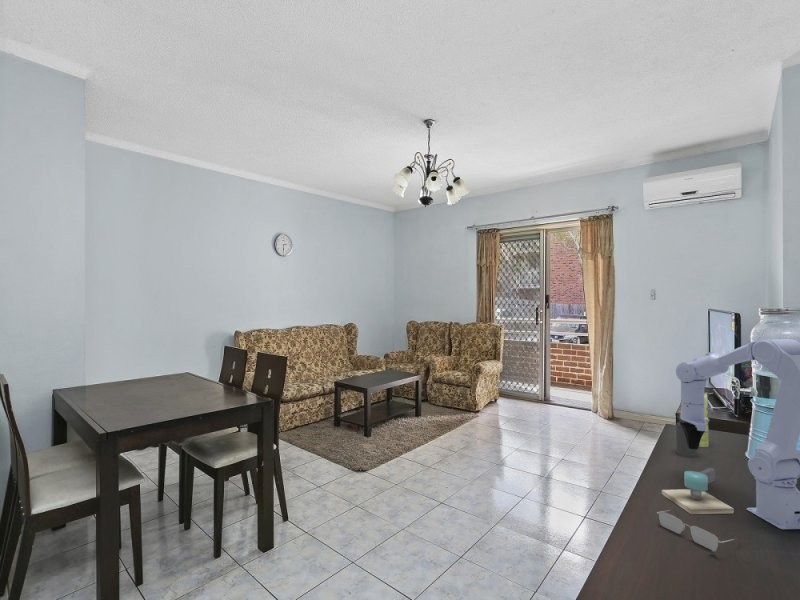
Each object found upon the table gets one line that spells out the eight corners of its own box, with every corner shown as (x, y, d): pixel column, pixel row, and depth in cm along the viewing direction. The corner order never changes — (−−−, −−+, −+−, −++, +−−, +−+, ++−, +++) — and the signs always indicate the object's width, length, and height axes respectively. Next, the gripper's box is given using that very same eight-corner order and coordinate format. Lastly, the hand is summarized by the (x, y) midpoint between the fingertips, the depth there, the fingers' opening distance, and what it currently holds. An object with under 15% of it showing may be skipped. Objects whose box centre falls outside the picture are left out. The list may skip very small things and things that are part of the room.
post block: (733, 513, 105) (733, 496, 105) (691, 514, 104) (691, 497, 104) (700, 493, 116) (700, 478, 116) (661, 494, 115) (661, 479, 115)
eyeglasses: (656, 524, 100) (655, 508, 100) (677, 517, 104) (676, 501, 104) (721, 556, 87) (720, 537, 88) (742, 547, 91) (742, 529, 91)
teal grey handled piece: (701, 492, 107) (701, 480, 107) (680, 485, 111) (680, 473, 111) (723, 483, 112) (723, 471, 112) (702, 476, 117) (702, 464, 117)
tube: (710, 450, 150) (709, 395, 150) (692, 447, 152) (692, 394, 152) (707, 445, 154) (707, 392, 155) (691, 443, 157) (690, 391, 157)
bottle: (679, 457, 143) (679, 413, 143) (674, 451, 149) (673, 409, 149) (699, 458, 141) (699, 414, 141) (693, 452, 147) (692, 410, 147)
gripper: (719, 409, 116) (719, 458, 116) (698, 398, 130) (699, 441, 130) (689, 407, 119) (690, 455, 118) (672, 396, 132) (673, 439, 132)
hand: (693, 448), depth 124 cm, fingers closed
